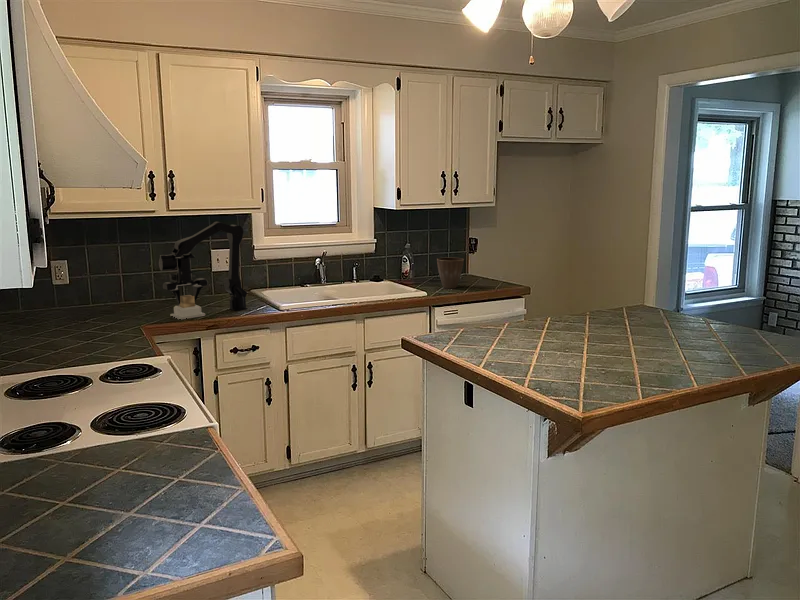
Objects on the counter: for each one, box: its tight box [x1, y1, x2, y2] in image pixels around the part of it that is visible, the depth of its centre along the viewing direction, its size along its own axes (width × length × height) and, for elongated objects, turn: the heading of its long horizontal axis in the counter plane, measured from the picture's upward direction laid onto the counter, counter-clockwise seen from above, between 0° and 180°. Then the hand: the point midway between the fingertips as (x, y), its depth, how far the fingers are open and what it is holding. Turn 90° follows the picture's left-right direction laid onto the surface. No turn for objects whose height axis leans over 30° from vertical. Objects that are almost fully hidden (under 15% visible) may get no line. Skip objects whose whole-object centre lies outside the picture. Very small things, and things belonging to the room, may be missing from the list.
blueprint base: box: [170, 304, 206, 320], centre depth 289 cm, size 12×10×5 cm
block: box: [179, 294, 196, 308], centre depth 288 cm, size 5×5×5 cm
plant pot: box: [436, 256, 465, 289], centre depth 354 cm, size 15×15×16 cm
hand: (187, 302), depth 288 cm, fingers open, 7 cm apart
